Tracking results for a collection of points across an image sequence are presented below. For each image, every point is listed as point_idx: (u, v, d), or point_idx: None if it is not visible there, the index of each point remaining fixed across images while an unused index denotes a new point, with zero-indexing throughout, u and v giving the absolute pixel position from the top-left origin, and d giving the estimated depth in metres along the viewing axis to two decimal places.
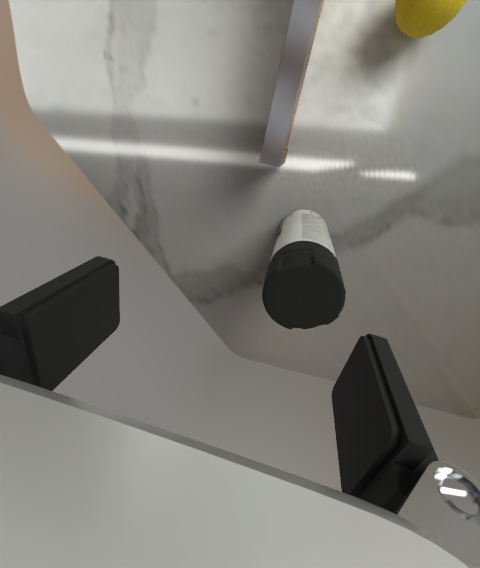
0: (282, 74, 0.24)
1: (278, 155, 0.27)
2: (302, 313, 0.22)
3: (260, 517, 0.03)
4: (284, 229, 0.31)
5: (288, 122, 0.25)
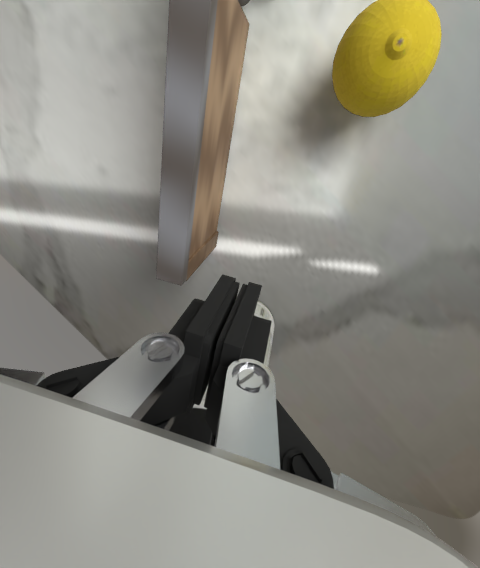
0: (167, 179, 0.17)
1: (178, 273, 0.20)
2: None
3: (260, 516, 0.03)
4: None
5: (185, 237, 0.18)
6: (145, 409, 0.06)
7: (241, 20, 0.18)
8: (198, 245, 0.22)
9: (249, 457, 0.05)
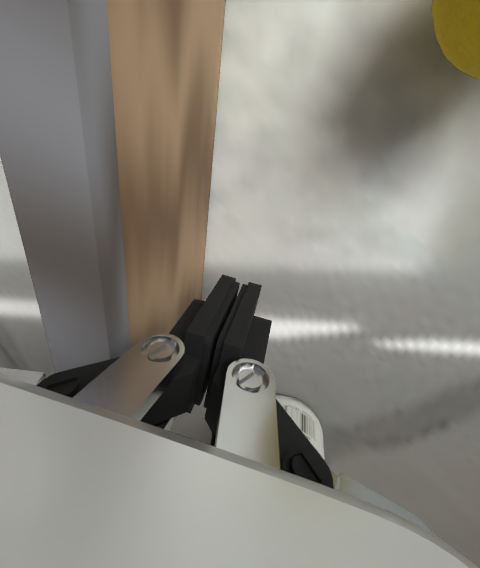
0: (45, 284, 0.07)
1: None
2: None
3: (260, 517, 0.03)
4: None
5: None
6: (145, 409, 0.06)
7: None
8: None
9: (249, 457, 0.05)
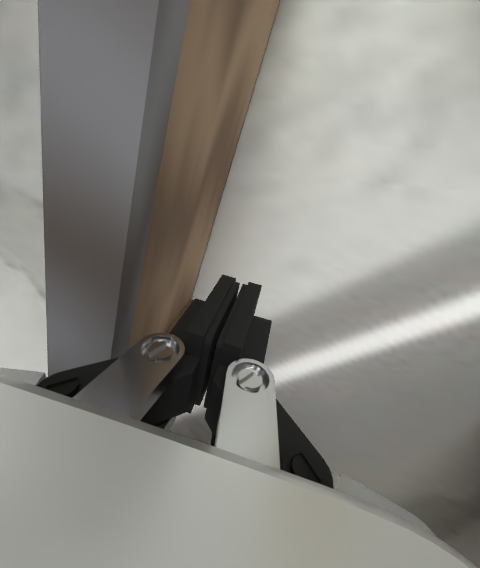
0: (59, 271, 0.07)
1: None
2: None
3: (260, 517, 0.03)
4: None
5: None
6: (145, 409, 0.06)
7: None
8: None
9: (249, 457, 0.05)
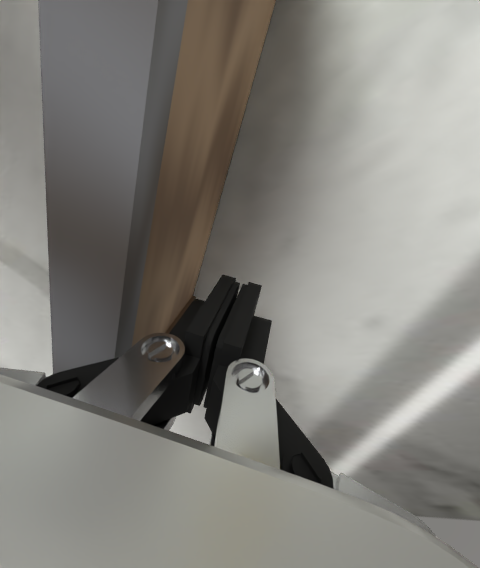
0: (63, 266, 0.07)
1: None
2: None
3: (260, 517, 0.03)
4: None
5: None
6: (145, 409, 0.06)
7: None
8: None
9: (249, 457, 0.05)
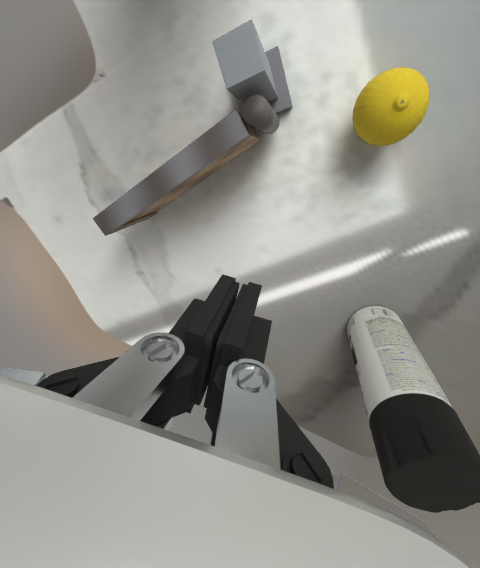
0: (145, 184, 0.25)
1: (109, 229, 0.28)
2: (446, 498, 0.19)
3: (260, 517, 0.03)
4: (359, 356, 0.29)
5: (130, 216, 0.27)
6: (145, 409, 0.06)
7: (254, 141, 0.28)
8: (135, 218, 0.31)
9: (249, 457, 0.05)
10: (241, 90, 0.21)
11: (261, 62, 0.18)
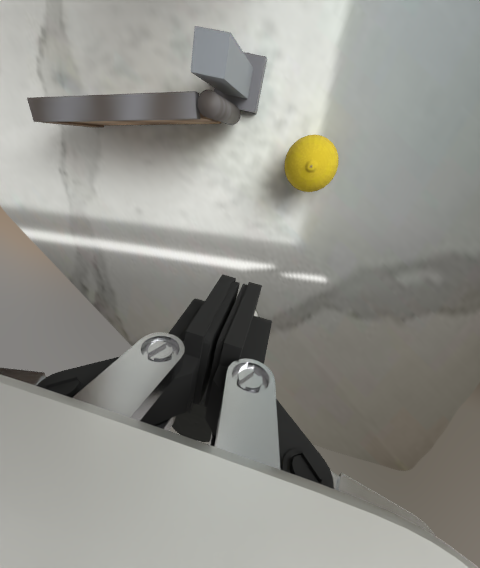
0: (92, 100, 0.26)
1: (40, 118, 0.27)
2: (199, 432, 0.27)
3: (260, 517, 0.03)
4: None
5: (66, 119, 0.27)
6: (145, 409, 0.06)
7: (211, 122, 0.30)
8: (75, 121, 0.30)
9: (249, 457, 0.05)
10: (206, 79, 0.23)
11: (224, 71, 0.21)
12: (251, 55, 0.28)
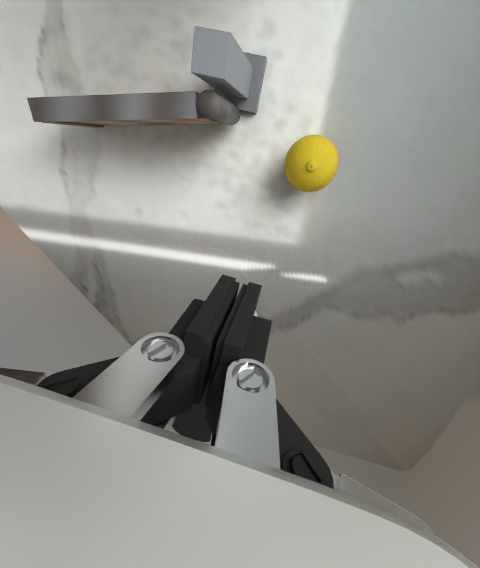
0: (92, 100, 0.26)
1: (40, 118, 0.27)
2: (199, 432, 0.27)
3: (260, 517, 0.03)
4: None
5: (66, 119, 0.27)
6: (145, 409, 0.06)
7: (211, 122, 0.30)
8: (75, 121, 0.30)
9: (249, 457, 0.05)
10: (206, 79, 0.23)
11: (224, 71, 0.21)
12: (251, 55, 0.28)
